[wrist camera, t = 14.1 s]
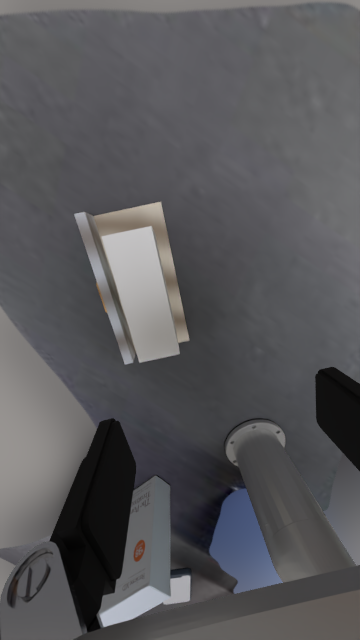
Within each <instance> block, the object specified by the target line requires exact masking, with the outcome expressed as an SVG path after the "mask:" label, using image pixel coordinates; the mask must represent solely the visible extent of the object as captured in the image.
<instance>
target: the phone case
mask: <svg viewBox="0 0 360 640" xmlns="http://www.w3.org/2000/svg"><path fill="white" fill-rule="evenodd" d="M191 585H192V579H191V569H190V568H183V569H175V570H170V588H171V597H170V598H169V599H167V600H165V601H164V602H162V603H163V604H165V605H166V604H174V603H181V602H188V601H190V600H191Z"/></svg>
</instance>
